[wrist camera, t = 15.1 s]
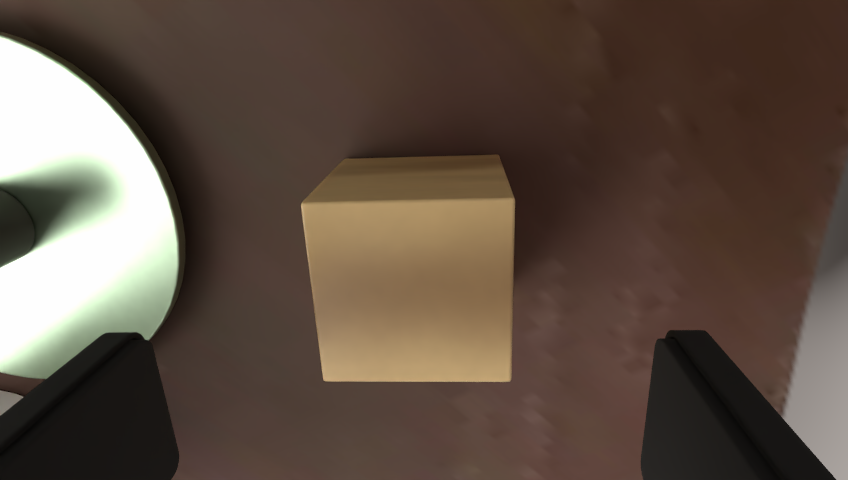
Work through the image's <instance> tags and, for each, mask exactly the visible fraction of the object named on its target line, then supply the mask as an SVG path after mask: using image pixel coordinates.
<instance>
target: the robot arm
mask: <svg viewBox="0 0 848 480" xmlns="http://www.w3.org/2000/svg"><path fill="white" fill-rule="evenodd" d="M178 463H179V451H178V447H177V443H176V439H175V435H174V431H173V427H172V423H171V419H170V415H169V411H168V406H167V402H166V398H165V394H164V390H163V386H162V382H161V378H160V374H159V370H158V366H157V362H156V358H155V354H154V350H153V346H152V344H151V343H150V341H148V340H145V339H144V337H143V336H142V335H141V334H140V333H138V332H109V333H104V334H103V335H101V336H100V337H98V338H97V339H96V340H95V341H93V342H92V343H91V344H90V345H88V346H87V347H86V348H85V349H83V350H82V351H81V352H80V353H78V354H77V355H76V356H75V357H73V358H72V359H71V360H70V361H68V362H67V363H66V364H64V365H63V366H62V367H61V368H59V369H58V370H57V371H56V372H54V373H53V374H52V375H51V376H49V377H48V378H47V379H46V380H44V381H43V382H42V383H41V384H39V385H38V386H37V387H36V388H34V389H33V390H32V391H31V392H29V393H28V394H27V395H26V396H24V397H23V398H22V399H21V400H19V401H18V402H17V403H16V404H14V405H13V406H12V407H11V408H9V409H8V410H7V411H6V412H4V413H3V414H2V415H1V416H0V480H171V479H172V477H173V476H174V474H175V472H176V470H177V467H178ZM641 471H642V476H643V480H836V479H835V478H834V477H833V475H832V474H831V473H830V472H829V471H828V470H827V469H826V467H825V466H824V465H823V464H822V463H821V462H820V461H819V459H818V458H817V457H816V456H815V455H814V454H813V453H812V451H811V450H810V449H809V448H808V447H807V446H806V445H805V443H804V442H803V441H802V440H801V439H800V438H799V437H798V435H797V434H796V433H795V432H794V431H793V430H792V429H791V427H789V425H788V424H787V423H786V422H785V421H784V419H783V418H782V417H781V416H780V415H779V414H778V413H777V411H776V410H775V409H774V408H773V407H772V406H771V405H770V403H769V402H768V401H767V400H766V399H765V398H764V397H763V395H762V394H761V393H760V392H759V391H758V390H757V389H756V387H755V386H754V385H753V384H752V383H751V382H750V381H749V379H748V378H747V377H746V376H745V375H744V374H743V373H742V371H741V370H740V369H739V368H738V367H737V366H736V365H735V363H734V362H733V361H732V360H731V359H730V358H729V357H728V355H727V354H726V353H725V352H724V351H723V350H722V349H721V347H720V346H719V345H718V344H717V343H716V342H715V341H714V339H713V338H712V337H711V336H710V335H709V334H708V333H707V332H706V331H703V330H670V331H669V332H668V333H667V335H666V337H665V339H658V340H657V341H656V344H655V350H654V358H653V366H652V374H651V382H650V390H649V398H648V406H647V414H646V422H645V430H644V438H643V446H642V454H641Z"/></svg>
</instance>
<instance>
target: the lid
mask: <svg viewBox="0 0 848 480" xmlns="http://www.w3.org/2000/svg"><path fill="white" fill-rule="evenodd" d="M184 267H185V233H184V226H183V219H182V214H181V210H180V207H179V203H178V200H177V196H176V192H175V190H174V188H173V185H172V183H171V180H170V178H169V175H168V173H167V171H166V168H165V167H164V165H163V163H162V161H161V159H160V158H159V156H158V154H157V152H156V150H155V149H154V147H153V145H152V144H151V142H150V141H149V139H148V138H147V137H146V135H145V134H144V132H143V131H142V129H141V128H140V127H139V125H138V124H137V122H136V121H135V120H134V119H133V118H132V117H131V116H130V115H129V113H128V112H127V111H126V110H125V109H124V108H123V107H122V105H121V104H120V103H119V102H118V101H117V100H116V99H115V98H114V97H113V96H111V95H110V94H109V93H108V92H107V91H106V90H105V89H104V88H103V87H102V86H101V85H100V84H98V83H97V82H96V81H95V80H93V79H92V78H91V77H89V76H88V75H87V74H85V73H84V72H83V71H81V70H80V69H79V68H77V67H76V66H75V65H73V64H72V63H70V62H68V61H66V60H65V59H63V58H61V57H60V56H58V55H56V54H54V53H53V52H51V51H49V50H48V49H45V48H43V47H41V46H39V45H36V44H34V43H32V42H30V41H27V40H25V39H23V38H20V37H17V36H14V35H11V34H7V33H4V32H1V31H0V372H2V373H5V374H9V375H15V376H21V377H27V378H38V379H47V378H48V377H49V376H51V375H52V374H53V373H54V372H56V371H57V370H58V369H59V368H61V367H62V366H63V365H64V364H66V363H67V362H68V361H70V360H71V359H72V358H73V357H75V356H76V355H77V354H78V353H80V352H81V351H82V350H83V349H85V348H86V347H87V346H88V345H90V344H91V343H92V342H93V341H95V340H96V339H97V338H98V337H100V336H101V335H103V334H104V333H109V332H138V333H140V334H141V335H142V336H143V337H144V339H145V340H148V341H149V340H150V339H151V338H152V337H153V336H154V335H155V334H156V333H157V332H158V331H159V329H160V328H161V327H162V325H163V324H164V322H165V321H166V319H167V318H168V317H169V315H170V313H171V311H172V309H173V307H174V304H175V302H176V300H177V298H178V294H179V291H180V288H181V284H182V281H183V274H184Z"/></svg>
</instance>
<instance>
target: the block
mask: <svg viewBox="0 0 848 480" xmlns="http://www.w3.org/2000/svg"><path fill="white" fill-rule="evenodd" d="M301 210H302V218H303V226H304V233H305V241H306V249H307V257H308V265H309V272H310V280H311V288H312V296H313V304H314V311H315V319H316V327H317V335H318V342H319V350H320V358H321V366H322V374H323V380H324V381H364V382H509V381H511V377H512V328H513V279H514V230H515V199H514V196H513V193H512V190H511V188H510V185H509V182H508V179H507V176H506V174H505V171H504V168H503V165H502V163H501V160H500V157H499V155H464V156H429V157H394V158H359V159H344V160H343V161H342V162H341V163H340V164H339V165H338V166H337V167H336V168H335V169H334V170H333V171H332V172H331V173H330V174H329V175H328V176H327V177H326V178H325V179H324V180H323V181H322V182H321V183H320V184H319V185H318V186H317V187H316V188H315V189H314V190H313V191H312V193H311V194H310V195H309V196H308V197H307V198H306V199H305V200H304V201H303V202H302V203H301Z"/></svg>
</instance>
